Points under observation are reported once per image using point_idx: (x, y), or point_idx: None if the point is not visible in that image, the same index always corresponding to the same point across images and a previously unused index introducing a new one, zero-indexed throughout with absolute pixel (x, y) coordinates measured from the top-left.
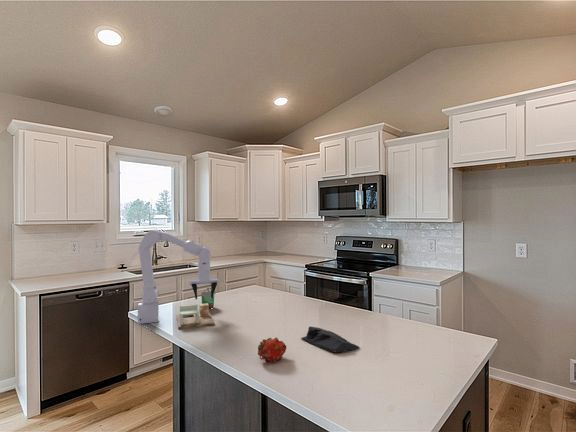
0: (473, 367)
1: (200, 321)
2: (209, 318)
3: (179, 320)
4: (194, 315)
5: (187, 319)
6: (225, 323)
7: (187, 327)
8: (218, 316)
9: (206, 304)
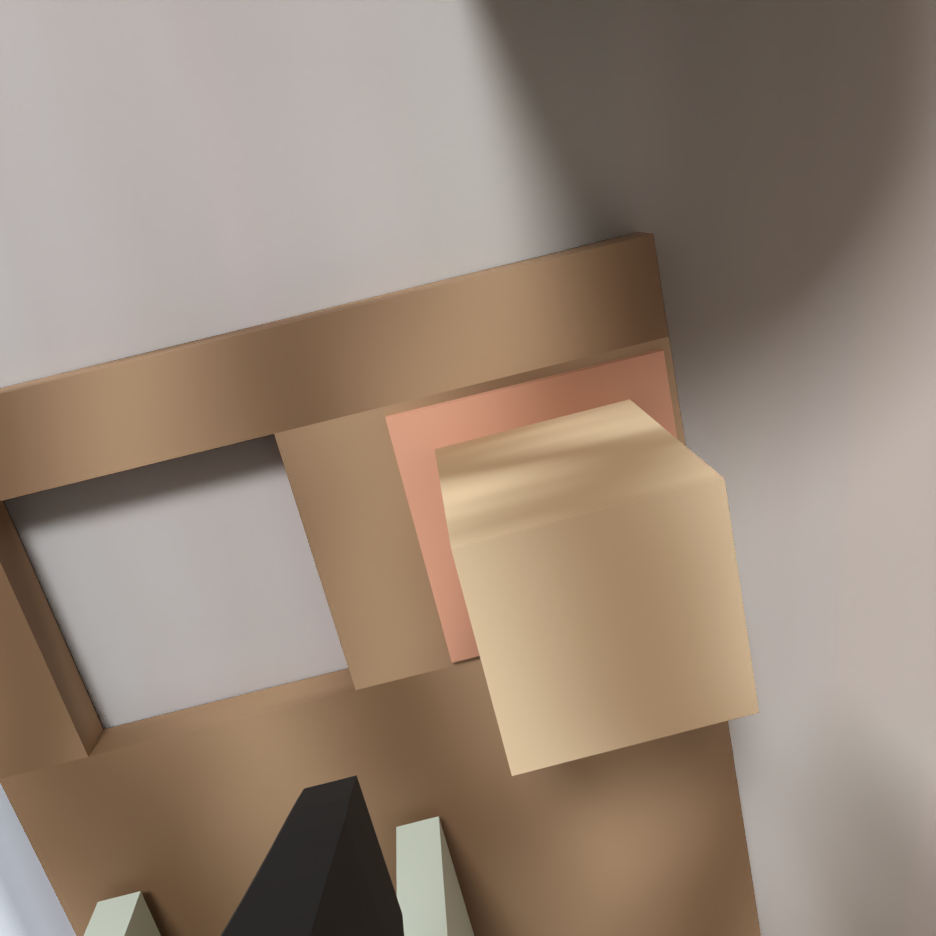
0: None
1: (516, 920)
2: (678, 773)
3: (77, 846)
4: (328, 544)
5: (232, 801)
6: (930, 900)
7: None
8: (851, 504)
9: (690, 645)
